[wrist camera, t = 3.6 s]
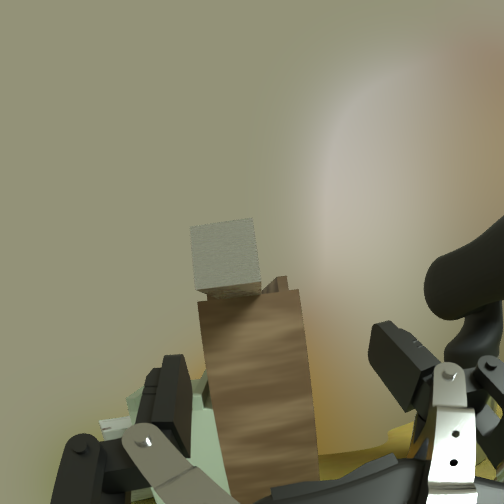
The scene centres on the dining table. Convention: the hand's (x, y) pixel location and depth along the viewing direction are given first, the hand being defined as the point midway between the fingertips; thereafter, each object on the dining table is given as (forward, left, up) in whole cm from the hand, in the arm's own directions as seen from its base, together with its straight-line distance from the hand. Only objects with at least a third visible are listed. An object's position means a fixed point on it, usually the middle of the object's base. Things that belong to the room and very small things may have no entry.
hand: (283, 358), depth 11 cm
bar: (-13, -13, +4) cm, 19 cm away
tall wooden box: (-17, -17, -28) cm, 37 cm away
